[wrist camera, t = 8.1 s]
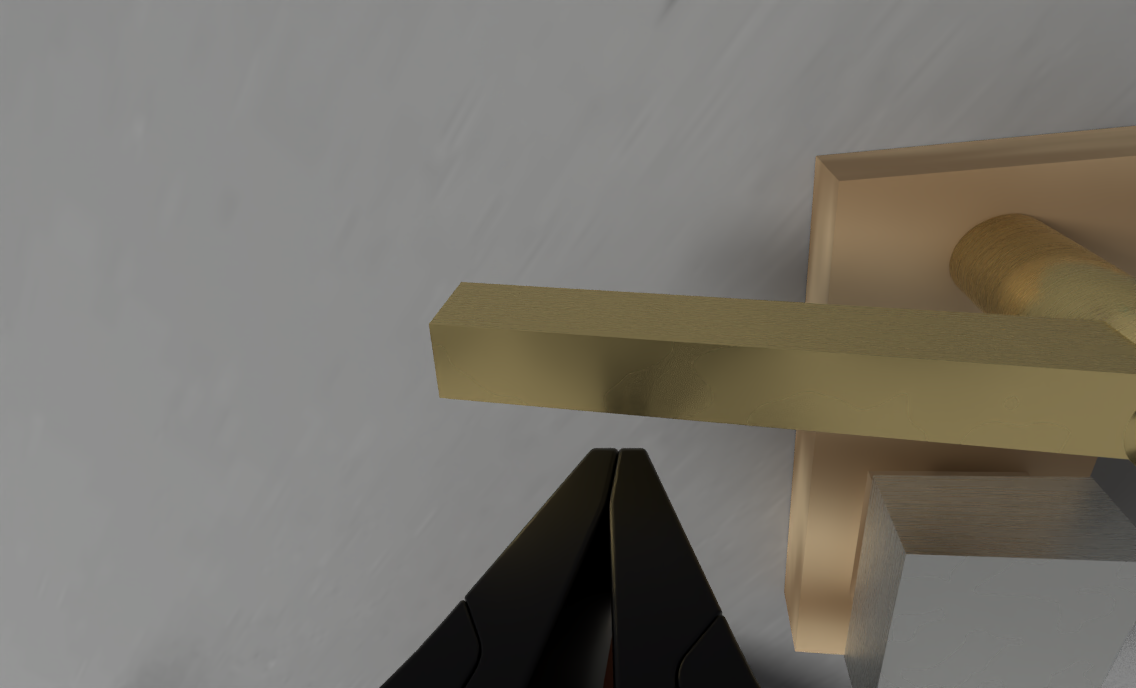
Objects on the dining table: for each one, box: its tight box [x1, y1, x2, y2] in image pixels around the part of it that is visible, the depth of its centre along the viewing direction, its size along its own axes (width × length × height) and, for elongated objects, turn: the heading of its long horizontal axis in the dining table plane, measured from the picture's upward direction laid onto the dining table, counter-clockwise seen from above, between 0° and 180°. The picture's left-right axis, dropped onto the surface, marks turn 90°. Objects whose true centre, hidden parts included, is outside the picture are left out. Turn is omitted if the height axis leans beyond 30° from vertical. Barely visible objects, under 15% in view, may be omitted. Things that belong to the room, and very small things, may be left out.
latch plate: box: [784, 126, 1136, 655], centre depth 16 cm, size 17×7×4 cm, turn 8°
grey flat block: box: [844, 475, 1136, 688], centre depth 15 cm, size 8×5×2 cm, turn 8°
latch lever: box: [429, 214, 1136, 466], centre depth 11 cm, size 12×2×6 cm, turn 91°
